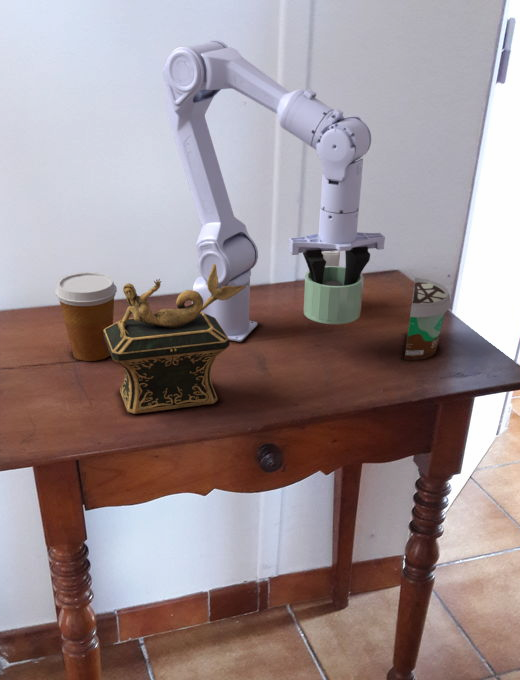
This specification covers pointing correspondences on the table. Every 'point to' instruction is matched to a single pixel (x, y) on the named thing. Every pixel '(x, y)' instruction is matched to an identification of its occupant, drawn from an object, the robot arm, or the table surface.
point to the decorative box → (168, 349)
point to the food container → (426, 318)
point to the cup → (332, 298)
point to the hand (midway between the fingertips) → (332, 295)
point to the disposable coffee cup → (87, 312)
